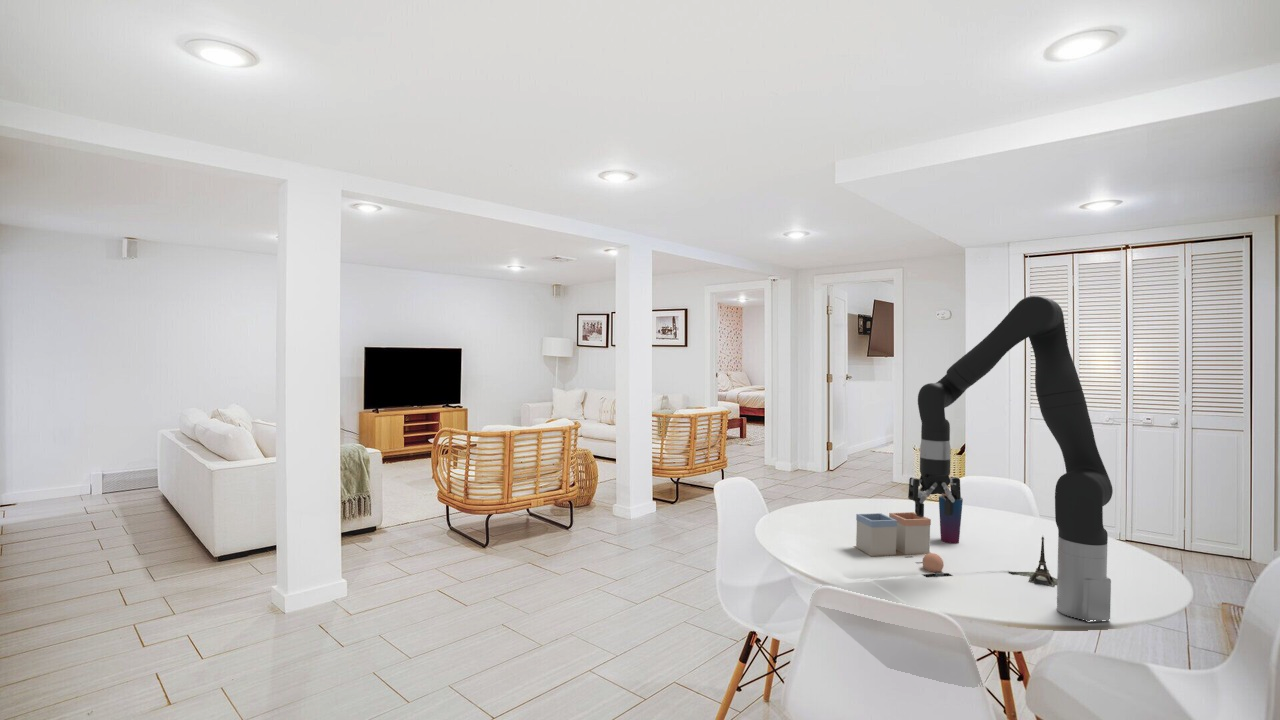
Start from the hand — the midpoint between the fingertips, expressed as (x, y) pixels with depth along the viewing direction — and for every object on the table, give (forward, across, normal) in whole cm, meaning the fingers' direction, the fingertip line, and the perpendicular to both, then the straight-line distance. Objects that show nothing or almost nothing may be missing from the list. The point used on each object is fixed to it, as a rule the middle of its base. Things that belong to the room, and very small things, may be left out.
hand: (934, 516), depth 167 cm
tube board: (+16, -1, +17) cm, 23 cm away
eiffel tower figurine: (+16, +26, -10) cm, 32 cm away
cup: (+16, +23, +23) cm, 36 cm away
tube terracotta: (+14, +4, +17) cm, 23 cm away
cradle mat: (+16, 0, +4) cm, 16 cm away
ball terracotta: (+15, 0, 0) cm, 16 cm away
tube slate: (+14, -7, +17) cm, 23 cm away
